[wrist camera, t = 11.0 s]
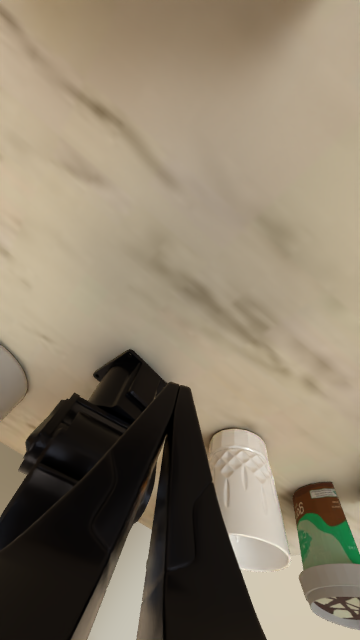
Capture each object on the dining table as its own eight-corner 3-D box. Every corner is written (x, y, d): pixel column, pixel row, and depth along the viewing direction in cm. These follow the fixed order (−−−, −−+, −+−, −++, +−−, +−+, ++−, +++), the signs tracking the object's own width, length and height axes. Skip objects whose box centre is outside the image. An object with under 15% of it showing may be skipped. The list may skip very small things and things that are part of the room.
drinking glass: (259, 419, 26) (276, 534, 17) (278, 460, 29) (301, 575, 20) (195, 429, 29) (183, 533, 20) (219, 465, 32) (217, 569, 23)
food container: (279, 474, 31) (301, 586, 22) (332, 475, 29) (377, 597, 20) (287, 518, 36) (306, 621, 27) (331, 521, 34) (366, 633, 26)
